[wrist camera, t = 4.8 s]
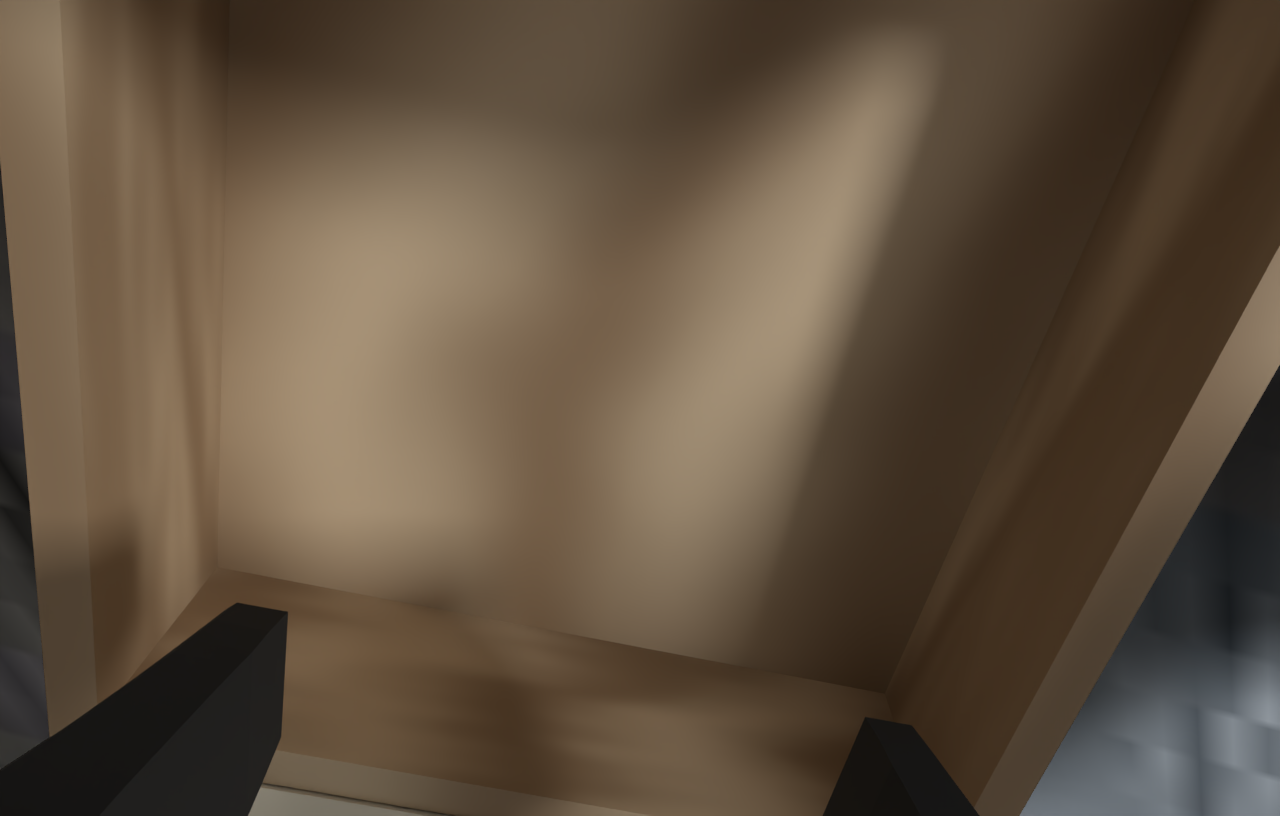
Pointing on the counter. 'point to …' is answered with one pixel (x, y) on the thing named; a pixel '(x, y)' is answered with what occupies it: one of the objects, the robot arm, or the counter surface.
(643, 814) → the kraft box
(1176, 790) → the counter surface
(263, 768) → the robot arm
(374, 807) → the flap
